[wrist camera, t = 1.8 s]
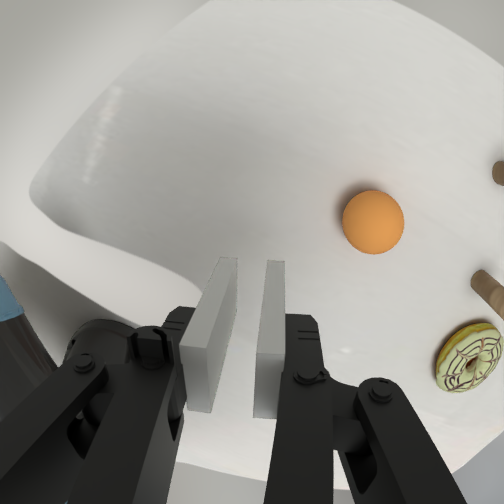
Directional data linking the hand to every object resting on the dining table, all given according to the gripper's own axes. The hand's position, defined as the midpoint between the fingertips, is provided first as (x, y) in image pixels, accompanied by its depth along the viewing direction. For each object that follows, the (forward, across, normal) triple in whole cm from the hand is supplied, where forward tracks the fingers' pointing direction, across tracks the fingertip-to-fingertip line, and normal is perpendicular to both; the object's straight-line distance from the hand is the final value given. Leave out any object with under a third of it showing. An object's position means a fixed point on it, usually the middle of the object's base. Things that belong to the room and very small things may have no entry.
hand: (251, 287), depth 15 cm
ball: (+14, -10, 0) cm, 17 cm away
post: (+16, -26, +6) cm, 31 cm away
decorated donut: (+17, -28, +17) cm, 37 cm away
